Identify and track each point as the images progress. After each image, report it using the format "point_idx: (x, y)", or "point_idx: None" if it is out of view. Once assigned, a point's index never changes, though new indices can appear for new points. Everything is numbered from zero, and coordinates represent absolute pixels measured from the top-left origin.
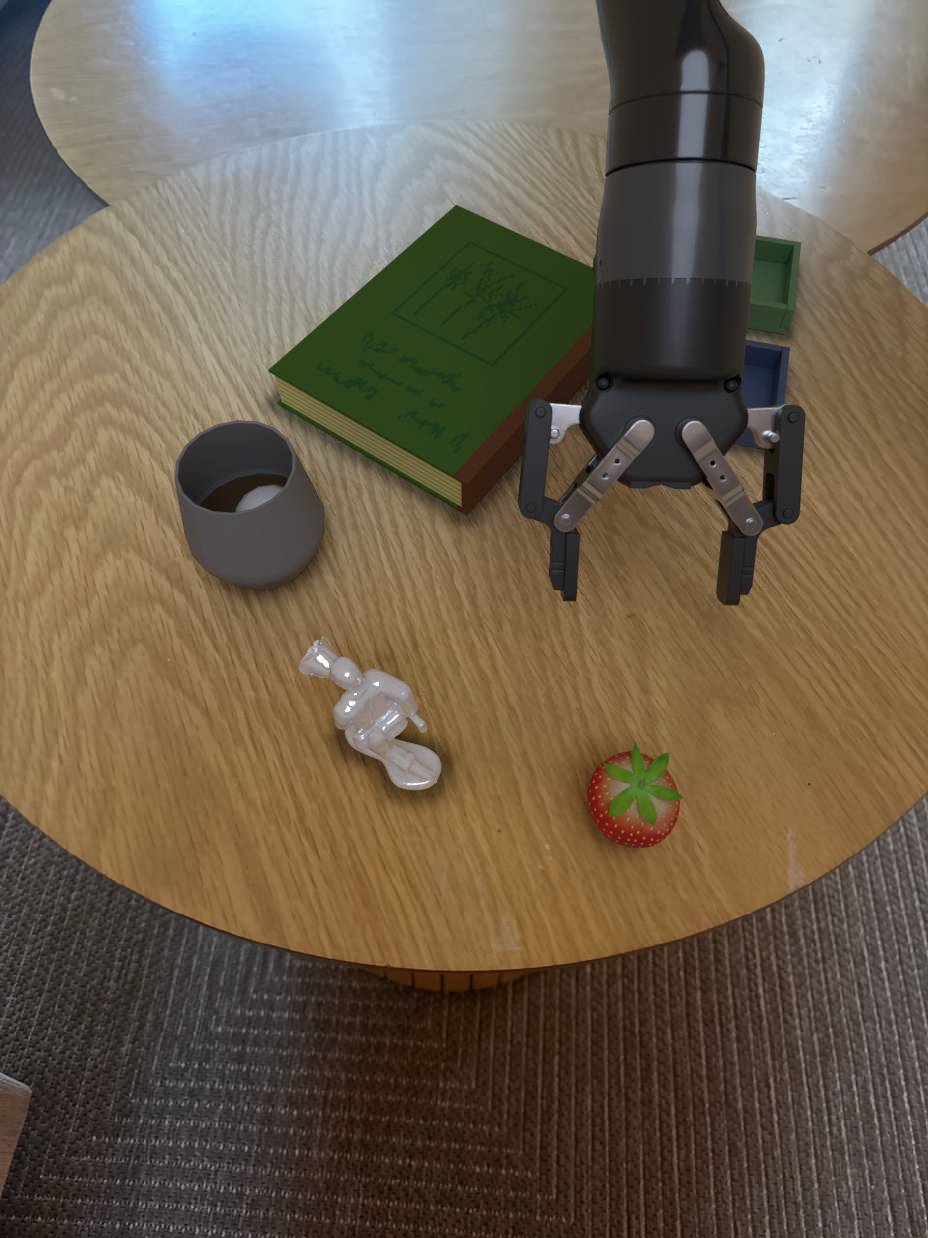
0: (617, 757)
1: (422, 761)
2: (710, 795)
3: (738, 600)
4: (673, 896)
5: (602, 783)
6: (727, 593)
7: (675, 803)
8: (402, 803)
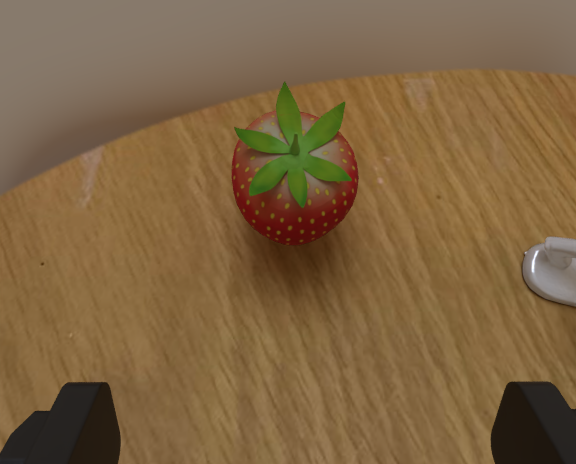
0: (322, 208)
1: (553, 275)
2: (175, 245)
3: (66, 388)
4: None
5: (347, 167)
6: (92, 403)
7: (242, 144)
8: (560, 227)
